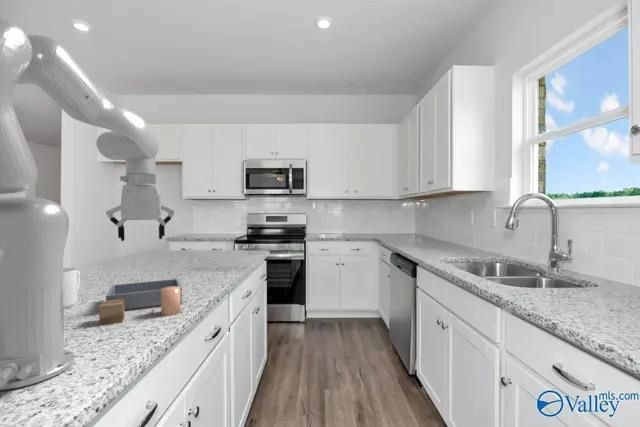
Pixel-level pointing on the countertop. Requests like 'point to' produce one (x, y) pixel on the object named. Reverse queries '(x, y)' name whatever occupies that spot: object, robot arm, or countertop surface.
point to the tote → (141, 293)
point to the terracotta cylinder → (170, 301)
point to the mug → (70, 287)
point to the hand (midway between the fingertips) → (142, 239)
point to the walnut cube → (111, 312)
